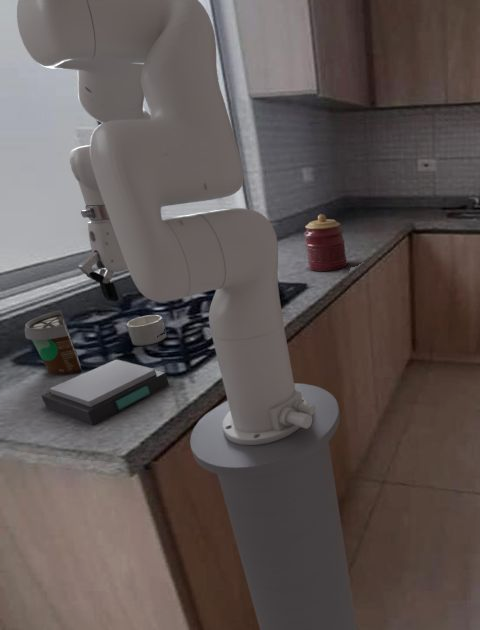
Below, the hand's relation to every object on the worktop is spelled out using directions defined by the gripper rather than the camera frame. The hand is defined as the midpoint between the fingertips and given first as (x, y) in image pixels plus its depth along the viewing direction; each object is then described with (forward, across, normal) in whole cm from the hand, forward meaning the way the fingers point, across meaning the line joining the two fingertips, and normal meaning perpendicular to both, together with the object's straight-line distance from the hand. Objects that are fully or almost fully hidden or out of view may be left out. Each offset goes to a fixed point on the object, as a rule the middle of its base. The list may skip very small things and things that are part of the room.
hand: (135, 292), depth 95 cm
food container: (+11, -16, +4) cm, 20 cm away
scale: (+11, -19, -18) cm, 28 cm away
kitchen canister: (+11, +63, -3) cm, 64 cm away
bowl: (+11, 0, 0) cm, 11 cm away
